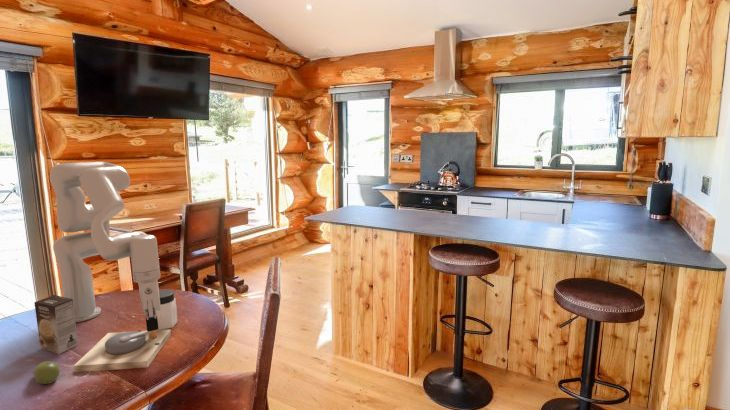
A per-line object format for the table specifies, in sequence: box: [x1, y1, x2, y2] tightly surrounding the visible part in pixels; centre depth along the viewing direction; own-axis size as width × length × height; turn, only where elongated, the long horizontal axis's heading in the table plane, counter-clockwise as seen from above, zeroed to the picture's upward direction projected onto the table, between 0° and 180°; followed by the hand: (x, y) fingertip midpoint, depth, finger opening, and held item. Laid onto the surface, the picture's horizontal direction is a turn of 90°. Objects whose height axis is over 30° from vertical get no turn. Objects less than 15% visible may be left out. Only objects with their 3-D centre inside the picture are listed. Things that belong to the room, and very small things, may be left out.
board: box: [73, 328, 172, 373], centre depth 128 cm, size 20×20×2 cm
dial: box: [105, 317, 157, 355], centre depth 128 cm, size 15×11×7 cm
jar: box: [156, 289, 178, 330], centre depth 145 cm, size 9×8×12 cm
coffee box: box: [34, 294, 79, 355], centre depth 130 cm, size 9×6×16 cm
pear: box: [33, 360, 61, 385], centre depth 114 cm, size 6×5×10 cm
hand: (152, 329), depth 130 cm, fingers closed
